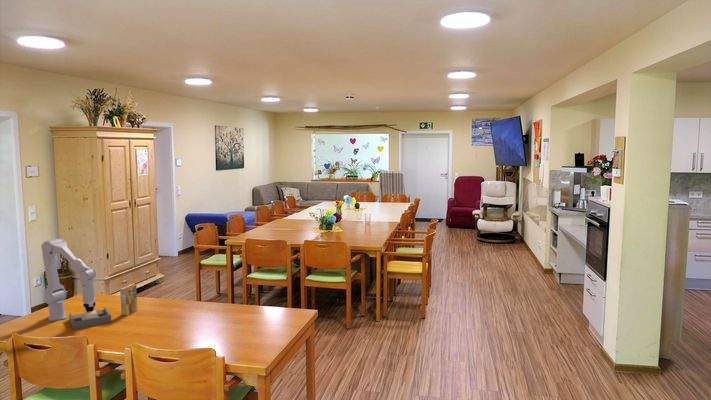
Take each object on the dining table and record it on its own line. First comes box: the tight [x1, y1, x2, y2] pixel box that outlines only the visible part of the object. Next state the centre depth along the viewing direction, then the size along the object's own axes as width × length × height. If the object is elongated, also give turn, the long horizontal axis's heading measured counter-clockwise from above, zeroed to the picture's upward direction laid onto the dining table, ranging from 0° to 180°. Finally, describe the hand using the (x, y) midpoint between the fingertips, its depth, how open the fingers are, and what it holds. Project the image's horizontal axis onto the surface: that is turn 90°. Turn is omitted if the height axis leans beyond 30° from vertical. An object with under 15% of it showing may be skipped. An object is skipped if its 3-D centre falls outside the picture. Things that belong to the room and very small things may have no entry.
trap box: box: [68, 306, 112, 330], centre depth 266 cm, size 17×18×4 cm
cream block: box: [84, 310, 97, 320], centre depth 262 cm, size 5×5×4 cm
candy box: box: [119, 283, 139, 316], centre depth 277 cm, size 9×4×15 cm, turn 166°
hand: (90, 316), depth 265 cm, fingers closed
